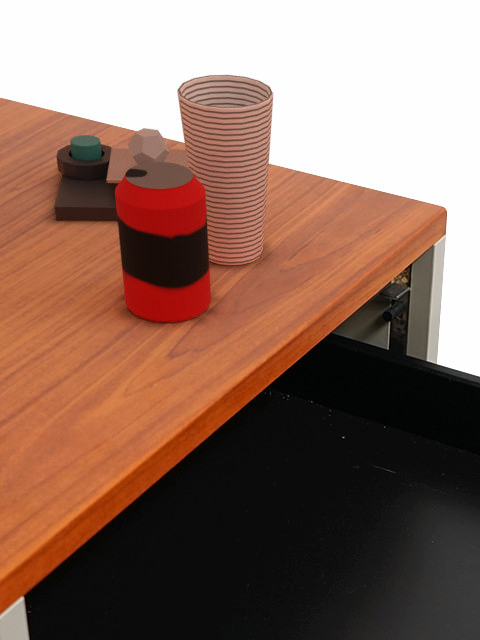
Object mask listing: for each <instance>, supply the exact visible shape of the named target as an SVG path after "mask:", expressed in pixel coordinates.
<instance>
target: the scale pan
mask: <svg viewBox="0 0 480 640" xmlns="http://www.w3.org/2000/svg"><path fill="white" fill-rule="evenodd" d="M111 148H112V149H111V155H110V161H109V167H108V173H107V179H106V181H107V183H120V181H121V180H122V179H123V177H124V176H125V174H126V172H127V171H128V170H129V169H130V168H132V167H134V166H136V165H138V164H137V163H136V161H135V160H134V158H133V157H132V154H131V152H130V149H129V148H119V147H118V148H114V147H111ZM168 150H169V154H168V155H167V157H166V159H165V161H164V162H168V163H174V164H179V165H182V166H184V167H187V168H188V163H187V156H186V149H177V148H176V149H173V148H172V149H171V148H170V149H169V148H168Z"/></svg>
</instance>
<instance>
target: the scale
mask: <svg viewBox="0 0 480 640" xmlns="http://www.w3.org/2000/svg"><path fill="white" fill-rule="evenodd" d="M112 148H113V147H112V146H110V145H107V144H102V143H101V152H102V157H101V158H99V159H96V160H91V161H85V160H77V159H73V158H72V154H71V145H70V144H67V145H65V146H63V147H61V148H60V149H57V152H56V156H55V157H56V165H57V171H58V172H59V173H60V174H61V177H60V182H59V187H58V190H57V195H56V199H55V203H54V214H55V220H56V221H103V222H104V221H108V222H110V221H112V222H118V219H117V209H116V198H115V189H116V187H117V185H118V184H119V183H107V181H106V179H107V173H108V167H109V161H110V155H111V149H112Z"/></svg>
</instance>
